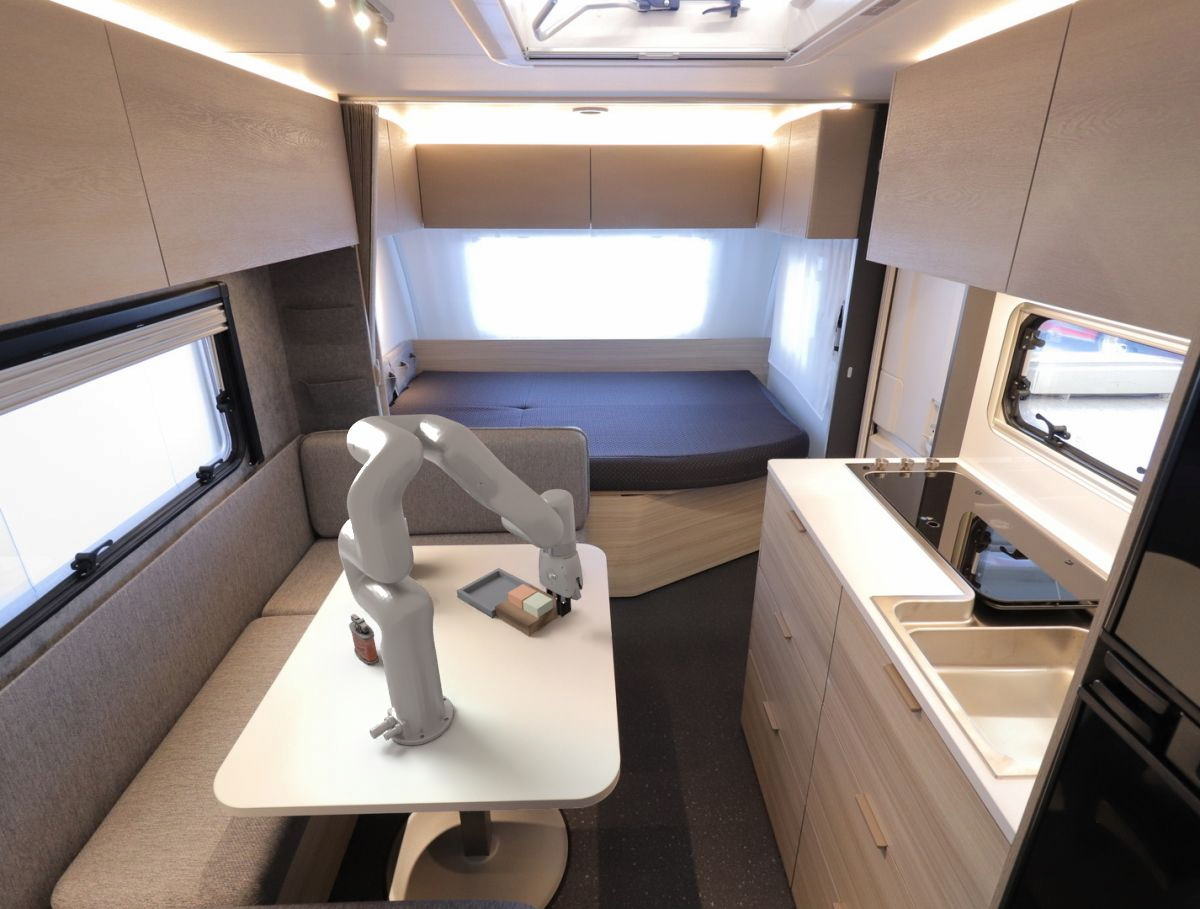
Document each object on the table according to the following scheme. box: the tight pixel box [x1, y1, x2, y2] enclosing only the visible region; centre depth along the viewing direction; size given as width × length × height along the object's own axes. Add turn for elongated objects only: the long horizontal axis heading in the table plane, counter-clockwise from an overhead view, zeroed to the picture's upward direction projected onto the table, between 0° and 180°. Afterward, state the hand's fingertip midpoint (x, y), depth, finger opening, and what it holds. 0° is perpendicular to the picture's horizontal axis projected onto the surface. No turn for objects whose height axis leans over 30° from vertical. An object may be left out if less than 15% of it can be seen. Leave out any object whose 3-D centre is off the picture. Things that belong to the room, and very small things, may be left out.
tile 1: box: [508, 584, 537, 609], centre depth 152 cm, size 5×5×2 cm
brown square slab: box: [495, 584, 561, 637], centre depth 151 cm, size 12×12×3 cm
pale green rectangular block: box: [523, 592, 553, 618], centre depth 148 cm, size 5×5×2 cm
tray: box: [456, 567, 534, 619], centre depth 159 cm, size 14×14×2 cm
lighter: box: [348, 613, 380, 667], centre depth 137 cm, size 8×3×10 cm, turn 47°
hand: (564, 612), depth 143 cm, fingers closed
